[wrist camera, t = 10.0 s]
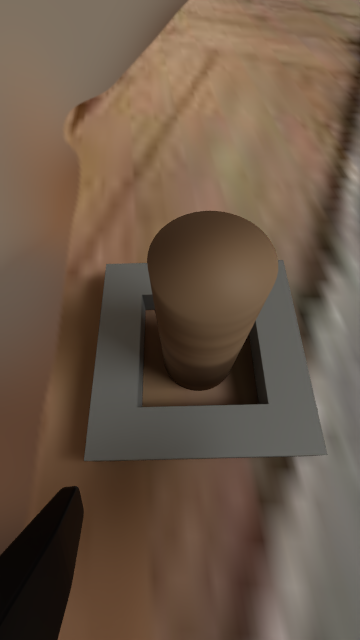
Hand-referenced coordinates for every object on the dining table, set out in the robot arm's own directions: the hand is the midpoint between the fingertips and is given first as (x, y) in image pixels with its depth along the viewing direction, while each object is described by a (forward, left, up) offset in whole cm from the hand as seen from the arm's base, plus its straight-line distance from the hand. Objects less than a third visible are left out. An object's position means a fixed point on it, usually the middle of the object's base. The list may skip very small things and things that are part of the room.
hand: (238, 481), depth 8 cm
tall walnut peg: (+7, 0, -8) cm, 11 cm away
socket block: (+7, 0, -8) cm, 11 cm away
